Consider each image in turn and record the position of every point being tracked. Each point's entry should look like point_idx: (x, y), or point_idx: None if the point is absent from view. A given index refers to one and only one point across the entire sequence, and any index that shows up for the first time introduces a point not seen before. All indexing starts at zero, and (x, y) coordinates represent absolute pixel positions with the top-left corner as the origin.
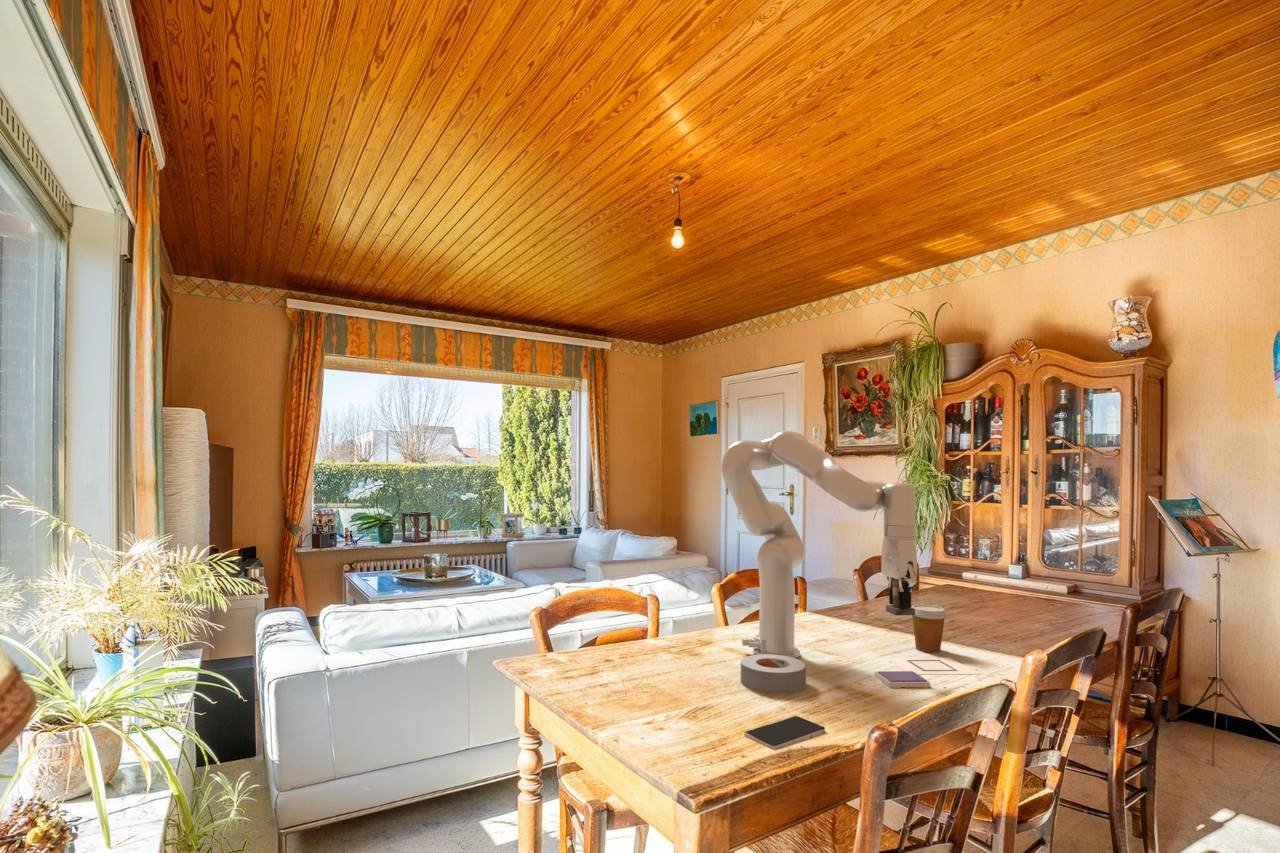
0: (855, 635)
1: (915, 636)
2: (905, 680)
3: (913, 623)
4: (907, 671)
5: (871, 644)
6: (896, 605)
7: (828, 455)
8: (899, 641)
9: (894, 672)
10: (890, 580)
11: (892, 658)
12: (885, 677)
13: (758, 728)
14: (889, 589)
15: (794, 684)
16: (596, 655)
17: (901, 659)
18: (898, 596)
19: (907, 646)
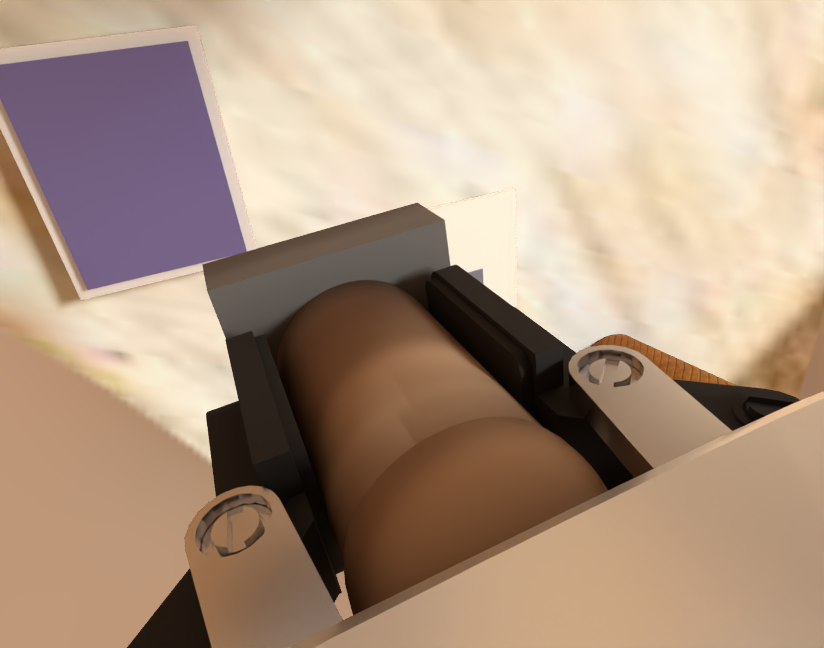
0: (809, 140)
1: (649, 355)
2: (33, 169)
3: (698, 375)
4: (234, 224)
5: (699, 176)
6: (307, 320)
7: None
8: (710, 295)
9: (193, 145)
10: (640, 436)
11: (507, 215)
12: (68, 55)
13: None
14: (544, 337)
15: None
16: None
17: (495, 251)
18: (257, 407)
19: (656, 311)
